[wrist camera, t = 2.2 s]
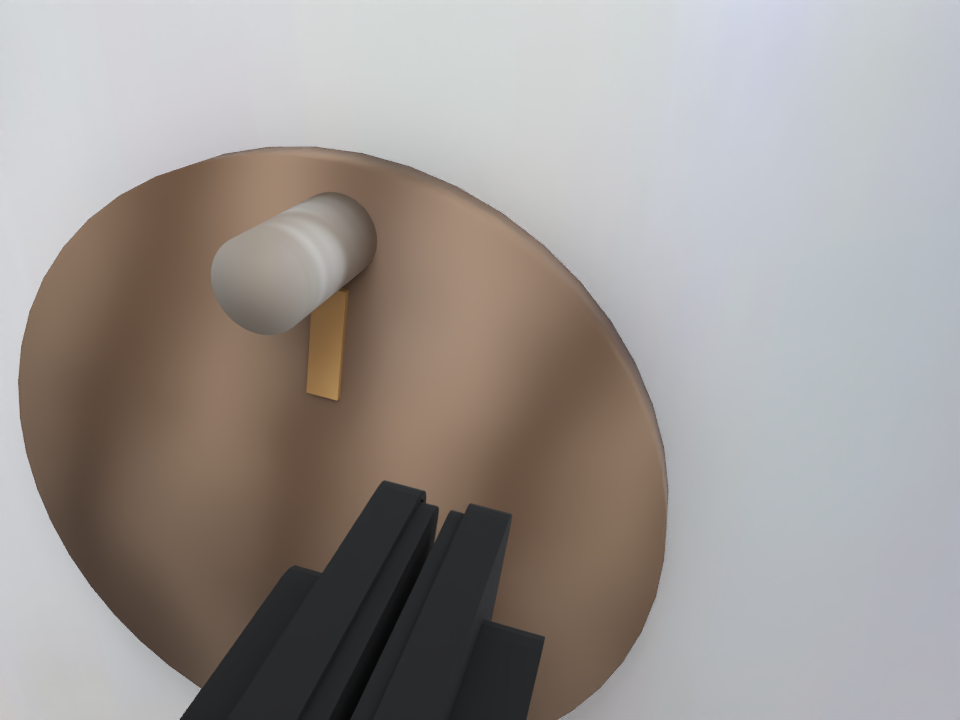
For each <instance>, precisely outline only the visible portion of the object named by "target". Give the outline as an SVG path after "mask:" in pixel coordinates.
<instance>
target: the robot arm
mask: <svg viewBox="0 0 960 720" xmlns="http://www.w3.org/2000/svg"><path fill="white" fill-rule="evenodd" d="M438 515H439V507H438V506H435V505H431V504H427V503H426V492H425V491H424V490H420V489H416V488H412V487H408V486H405V485H401V484H397V483H393V482H390V481H386V480H384V481H382V482H381V483H380V485H379V486H378V487H377V489H376V491H375V492H374V494H373V495H372V497H371V498H370V500H369V501H368V503H367V504H366V506H365V508H364V509H363V511H362V512H361V514H360V515H359V517H358V518H357V520H356V521H355V523H354V525H353V526H352V528H351V529H350V531H349V532H348V534H347V535H346V537H345V538H344V540H343V542H342V543H341V545H340V546H339V548H338V549H337V551H336V552H335V554H334V555H333V557H332V559H331V560H330V562H329V563H328V565H327V566H326V568H325V569H324V571H323V572H322V573H321V572H317V571H314V570H310V569H307V568H303V567H300V566H296V565H294V566H292V567H290V568H289V569H288V570H287V571H286V572H285V573H284V575H283V576H282V577H281V578H280V580H279V581H278V582H277V584H276V585H275V587H274V588H273V590H272V591H271V592H270V594H269V595H268V597H267V598H266V599H265V601H264V602H263V604H262V605H261V606H260V608H259V609H258V611H257V612H256V613H255V615H254V616H253V618H252V619H251V620H250V622H249V623H248V625H247V626H246V627H245V629H244V630H243V632H242V633H241V634H240V636H239V637H238V639H237V640H236V641H235V643H234V644H233V646H232V647H231V648H230V650H229V651H228V653H227V654H226V655H225V657H224V658H223V660H222V661H221V662H220V664H219V665H218V667H217V668H216V669H215V671H214V672H213V674H212V675H211V676H210V678H209V679H208V681H207V682H206V683H205V685H204V686H203V688H202V689H201V690H200V692H199V693H198V695H197V696H196V697H195V699H194V700H193V702H192V703H191V704H190V706H189V707H188V709H187V710H186V711H185V713H184V714H183V716H182V717H181V718H180V720H526V719H527V715H528V710H529V706H530V702H531V697H532V693H533V689H534V684H535V680H536V676H537V671H538V667H539V663H540V658H541V654H542V650H543V645H544V641H545V637H544V636H541V635H537V634H534V633H530V632H527V631H523V630H520V629H516V628H513V627H509V626H506V625H502V624H499V623H495V622H492V616H493V611H494V606H495V601H496V596H497V591H498V586H499V581H500V576H501V571H502V566H503V561H504V556H505V551H506V546H507V542H508V537H509V532H510V527H511V521H512V514H510V513H506V512H503V511H499V510H495V509H491V508H488V507H484V506H480V505H476V504H472V503H470V504H469V505H468V507H467V509H466V511H465V513H461V512H457V511H453V510H451V511H450V512H449V513H448V515H447V517H446V520H445V522H444V524H443V526H442V528H441V530H440V532H439V534H438V536H437V538H436V541H435V535H436V529H437V522H438ZM434 542H435V543H434Z"/></svg>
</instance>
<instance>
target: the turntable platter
mask: <svg viewBox="0 0 960 720" xmlns="http://www.w3.org/2000/svg"><path fill="white" fill-rule="evenodd" d="M18 387H19V407H20V420H21V426H22V431H23V437H24V442H25V448H26V454H27V457H28V460H29V463H30V467H31V470H32V473H33V477H34V480H35V483H36V486H37V489H38V492H39V494H40V496H41V499H42V501H43V503H44V506H45V508H46V510H47V513H48V515H49V517H50V520H51V522H52V524H53V526H54V528H55V529H56V531H57V533H58V535H59V537H60V539H61V540H62V542H63V544H64V546H65V548H66V549H67V551H68V553H69V555H70V556H71V558H72V559H73V561H74V562H75V564H76V565H77V567H78V568H79V569H80V571H81V572H82V574H83V575H84V577H85V578H86V580H87V581H88V583H89V584H90V585H91V587H92V588H93V589H94V590H95V592H96V593H97V594H98V595H99V596H100V598H101V599H102V600H103V601H104V602H105V604H106V605H107V606H108V607H109V608H110V610H111V611H112V612H113V613H114V615H115V616H116V617H117V618H118V619H119V620H120V621H121V622H122V623H123V624H124V625H125V626H126V627H127V628H128V629H129V630H130V631H131V632H132V633H133V634H134V635H135V636H136V637H137V638H138V639H139V640H140V641H141V642H142V643H144V644H145V645H146V646H147V647H148V648H149V649H151V650H152V651H153V652H154V653H155V654H156V655H158V656H159V657H160V658H161V659H162V660H163V661H165V662H166V663H167V664H168V665H169V666H171V667H172V668H173V669H175V670H176V671H178V672H179V673H180V674H182V675H183V676H185V677H186V678H187V679H189V680H190V681H192V682H193V683H194V684H196V685H197V686H199V687H200V688H203V686H204V685H205V683H206V682H207V681H208V679H209V678H210V676H211V675H212V674H213V672H214V671H215V669H216V668H217V667H218V665H219V664H220V662H221V661H222V660H223V658H224V657H225V655H226V654H227V653H228V651H229V650H230V648H231V647H232V646H233V644H234V643H235V641H236V640H237V639H238V637H239V636H240V634H241V633H242V632H243V630H244V629H245V627H246V626H247V625H248V623H249V622H250V620H251V619H252V618H253V616H254V615H255V613H256V612H257V611H258V609H259V608H260V606H261V605H262V604H263V602H264V601H265V599H266V598H267V597H268V595H269V594H270V592H271V591H272V590H273V588H274V587H275V585H276V584H277V582H278V581H279V580H280V578H281V577H282V576H283V575H284V573H285V572H286V571H287V570H288V569H289V568H290V567H292V566H294V565H296V566H300V567H303V568H307V569H310V570H314V571H317V572H321V573H322V572H323V571H324V569H325V568H326V566H327V565H328V563H329V562H330V560H331V559H332V557H333V555H334V554H335V552H336V551H337V549H338V548H339V546H340V545H341V543H342V542H343V540H344V538H345V537H346V535H347V534H348V532H349V531H350V529H351V528H352V526H353V525H354V523H355V521H356V520H357V518H358V517H359V515H360V514H361V512H362V511H363V509H364V508H365V506H366V504H367V503H368V501H369V500H370V498H371V497H372V495H373V494H374V492H375V491H376V489H377V487H378V486H379V485H380V483H381V482H382V481H384V480H386V481H390V482H393V483H397V484H401V485H405V486H408V487H412V488H416V489H420V490H424V491H425V492H426V503H427V504H431V505H435V506H438V507H439V515H438V522H437V529H436V535H435V541H436V538H437V536H438V534H439V532H440V530H441V528H442V526H443V524H444V522H445V520H446V517H447V515H448V513H449V512H450V511H451V510H453V511H457V512H461V513H465V511H466V509H467V507H468V505H469V504H470V503H472V504H476V505H480V506H484V507H488V508H491V509H495V510H499V511H503V512H506V513H510V514H512V521H511V527H510V532H509V537H508V542H507V546H506V551H505V556H504V561H503V566H502V571H501V576H500V581H499V586H498V591H497V596H496V601H495V606H494V611H493V616H492V622H495V623H499V624H502V625H506V626H509V627H513V628H516V629H520V630H523V631H527V632H530V633H534V634H537V635H541V636H544V637H545V641H544V645H543V650H542V654H541V658H540V663H539V667H538V671H537V676H536V680H535V684H534V689H533V693H532V697H531V702H530V706H529V710H528V715H527V719H526V720H557V719H559V718H561V717H562V716H564V715H566V714H567V713H569V712H571V711H572V710H574V709H575V708H576V707H577V706H579V705H580V704H581V703H582V702H583V701H585V700H586V699H587V698H588V697H590V696H591V695H592V694H593V693H594V692H596V691H597V690H598V689H599V688H600V687H601V686H602V685H603V684H604V683H605V681H606V680H607V679H608V678H609V677H610V676H611V675H612V674H613V672H614V671H615V670H616V669H617V668H618V667H619V666H620V665H621V663H622V662H623V661H624V659H625V657H626V656H627V654H628V653H629V651H630V649H631V648H632V646H633V645H634V643H635V641H636V640H637V638H638V637H639V635H640V633H641V632H642V629H643V627H644V624H645V622H646V619H647V617H648V615H649V612H650V610H651V607H652V605H653V602H654V600H655V597H656V593H657V588H658V584H659V579H660V575H661V570H662V566H663V561H664V552H665V539H666V525H667V506H668V482H667V472H666V462H665V452H664V446H663V442H662V438H661V434H660V431H659V427H658V423H657V419H656V415H655V411H654V407H653V404H652V402H651V399H650V397H649V395H648V392H647V390H646V387H645V385H644V383H643V380H642V378H641V375H640V373H639V370H638V368H637V366H636V363H635V361H634V360H633V358H632V356H631V355H630V353H629V351H628V349H627V348H626V346H625V344H624V343H623V341H622V339H621V337H620V336H619V334H618V332H617V331H616V329H615V327H614V326H613V324H612V322H611V321H610V319H609V318H608V317H607V315H606V314H605V313H604V312H603V310H602V309H601V308H600V306H599V305H598V304H597V303H596V301H595V300H594V299H593V297H592V296H591V295H590V294H589V292H588V291H587V290H586V288H585V287H584V286H583V285H582V283H581V282H580V281H579V280H578V279H577V278H576V277H575V276H574V275H573V274H572V273H571V272H570V271H569V270H568V269H567V268H566V267H565V266H564V265H563V264H562V263H561V262H560V261H559V260H558V259H557V258H556V257H555V256H554V255H553V254H552V253H551V252H550V251H549V250H548V249H547V248H546V247H545V246H544V245H543V244H542V243H540V242H539V241H538V240H536V239H535V238H534V237H532V236H531V235H530V234H529V233H527V232H526V231H525V230H523V229H522V228H521V227H520V226H518V225H517V224H516V223H514V222H513V221H512V220H510V219H509V218H508V217H507V216H505V215H504V214H503V213H501V212H499V211H498V210H496V209H494V208H493V207H491V206H489V205H487V204H486V203H484V202H482V201H481V200H479V199H477V198H476V197H474V196H472V195H470V194H469V193H467V192H465V191H464V190H462V189H460V188H458V187H457V186H454V185H452V184H450V183H447V182H445V181H443V180H440V179H438V178H435V177H433V176H431V175H428V174H426V173H424V172H421V171H419V170H417V169H414V168H412V167H409V166H406V165H402V164H399V163H395V162H392V161H388V160H384V159H381V158H377V157H374V156H370V155H367V154H363V153H357V152H349V151H342V150H335V149H327V148H320V147H265V148H259V149H252V150H246V151H240V152H233V153H227V154H223V155H220V156H217V157H214V158H211V159H207V160H204V161H201V162H198V163H195V164H192V165H189V166H186V167H183V168H180V169H177V170H174V171H171V172H168V173H165V174H162V175H159V176H156V177H154V178H152V179H150V180H148V181H147V182H145V183H143V184H141V185H139V186H137V187H135V188H133V189H131V190H129V191H127V192H126V193H124V194H122V195H120V196H118V197H117V198H116V199H114V200H113V201H112V202H111V203H109V204H108V205H107V206H105V207H104V208H103V209H101V210H100V211H99V212H98V213H96V214H95V215H94V216H92V217H91V218H90V219H88V221H87V222H86V223H85V224H84V225H83V226H82V227H81V228H80V229H79V230H78V232H77V233H76V234H75V235H74V236H73V237H72V238H71V239H70V240H69V241H68V243H67V244H66V245H65V246H64V247H63V248H62V250H61V251H60V253H59V255H58V256H57V258H56V259H55V261H54V263H53V264H52V266H51V267H50V269H49V270H48V272H47V274H46V275H45V277H44V278H43V281H42V283H41V286H40V288H39V290H38V293H37V295H36V298H35V300H34V302H33V305H32V307H31V309H30V312H29V316H28V321H27V325H26V329H25V333H24V337H23V341H22V346H21V356H20V367H19V379H18ZM434 543H435V542H434Z"/></svg>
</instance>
